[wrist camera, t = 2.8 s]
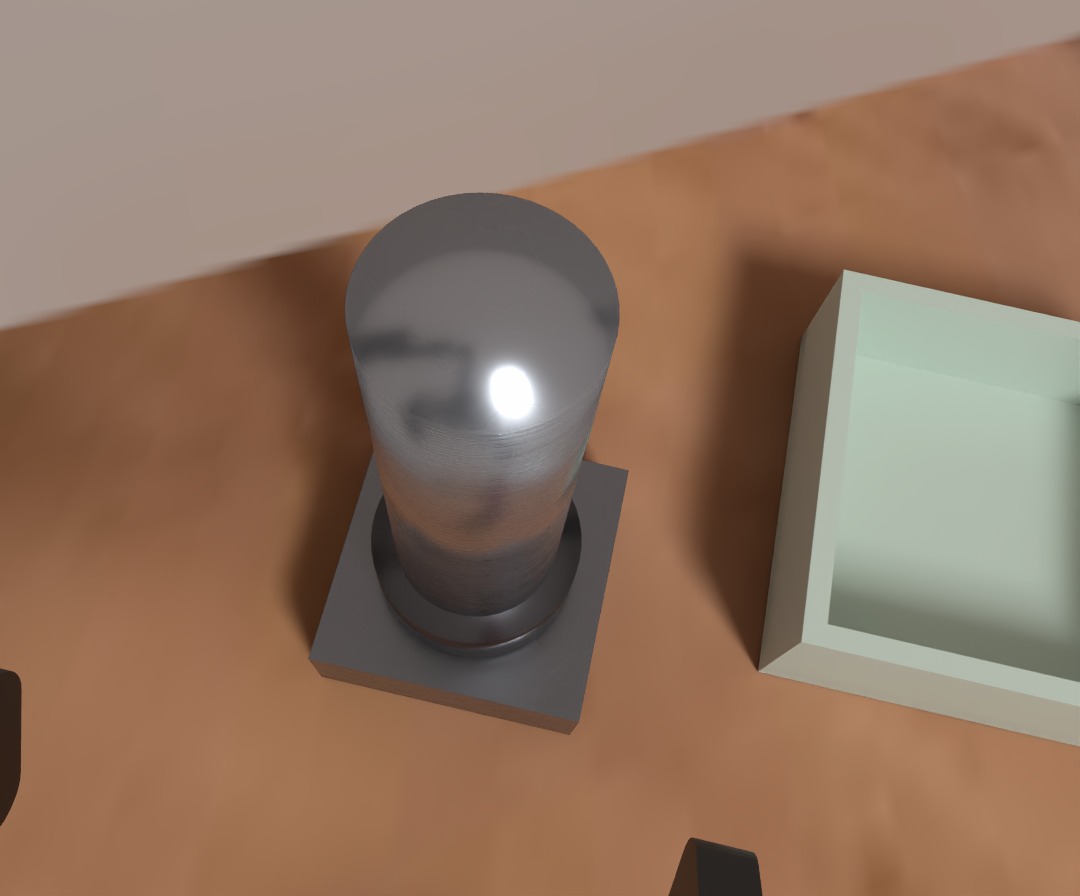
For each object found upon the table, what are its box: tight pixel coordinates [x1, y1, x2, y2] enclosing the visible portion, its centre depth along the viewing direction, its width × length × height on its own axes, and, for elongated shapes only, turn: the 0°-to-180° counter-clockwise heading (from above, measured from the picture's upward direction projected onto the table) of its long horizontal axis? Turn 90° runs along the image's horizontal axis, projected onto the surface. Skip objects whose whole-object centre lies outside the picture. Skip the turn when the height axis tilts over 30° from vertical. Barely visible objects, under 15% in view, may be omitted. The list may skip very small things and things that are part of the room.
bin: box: [758, 270, 1080, 747], centre depth 29 cm, size 11×11×4 cm
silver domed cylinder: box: [345, 193, 619, 658], centre depth 21 cm, size 5×5×13 cm
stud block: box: [309, 451, 629, 735], centre depth 28 cm, size 7×7×2 cm
